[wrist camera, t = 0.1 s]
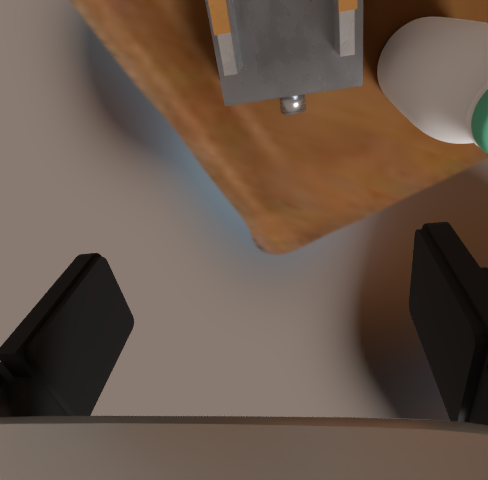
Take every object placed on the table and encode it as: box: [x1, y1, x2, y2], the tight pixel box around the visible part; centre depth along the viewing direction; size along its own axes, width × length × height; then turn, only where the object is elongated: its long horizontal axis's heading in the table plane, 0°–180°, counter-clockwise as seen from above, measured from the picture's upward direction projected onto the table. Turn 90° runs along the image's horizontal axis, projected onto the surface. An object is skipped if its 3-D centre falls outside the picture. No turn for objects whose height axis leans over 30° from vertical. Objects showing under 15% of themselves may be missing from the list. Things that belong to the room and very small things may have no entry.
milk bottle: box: [377, 17, 488, 154], centre depth 26 cm, size 8×8×20 cm
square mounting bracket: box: [205, 0, 363, 114], centre depth 29 cm, size 16×12×11 cm
